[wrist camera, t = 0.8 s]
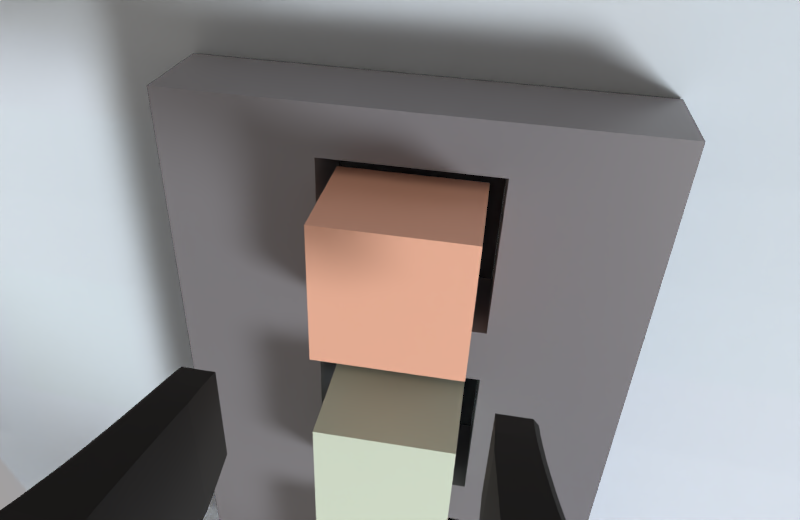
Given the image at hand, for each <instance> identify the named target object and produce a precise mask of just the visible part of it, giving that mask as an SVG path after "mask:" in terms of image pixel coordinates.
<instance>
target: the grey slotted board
mask: <svg viewBox="0 0 800 520" xmlns="http://www.w3.org/2000/svg"><path fill="white" fill-rule="evenodd" d="M147 90H148V96H149V102H150V108H151V114H152V120H153V126H154V132H155V137H156V143H157V149H158V155H159V161H160V167H161V173H162V179H163V185H164V191H165V197H166V203H167V209H168V215H169V221H170V227H171V233H172V239H173V245H174V251H175V257H176V263H177V269H178V275H179V281H180V287H181V293H182V299H183V305H184V311H185V317H186V323H187V329H188V335H189V341H190V347H191V353H192V359H193V365H194V369H199V370H205V371H212V372H216V379H217V386H218V393H219V400H220V407H221V414H222V421H223V428H224V435H225V442H226V449H227V456H226V459H225V462H224V465H223V468H222V471H221V474H220V476H219V479H218V482H217V485H216V488H215V490H214V491H215V497H216V503H217V509H218V515H219V520H316V502H315V477H314V453H313V429H314V427H315V424H316V421H317V418H318V415H319V413H320V410H321V407H322V404H323V401H324V399H325V396H326V393H327V390H328V387H329V385H330V382H331V379H332V376H333V373H334V371H335V368H336V365H337V363H330V362H324V361H317V360H310V357H309V333H308V309H307V285H306V261H305V237H304V224H305V222H306V221H307V219H308V217H309V215H310V213H311V212H312V210H313V208H314V206H315V204H316V203H317V201H318V199H319V197H320V195H321V194H322V192H323V190H324V188H325V187H326V185H327V183H328V181H329V179H330V178H331V176H332V174H333V172H334V170H335V169H336V167H337V166H340V160H342V161H352V162H361V163H370V164H379V165H388V166H397V167H406V168H416V169H425V170H434V171H443V172H452V173H461V174H470V175H480V176H489V177H498V178H506V180H505V188H504V195H503V202H502V209H501V216H500V223H499V230H498V237H497V244H496V251H495V258H494V265H493V273H492V279H489V278H481V277H479V278H478V286H477V294H476V301H475V309H474V317H473V325H472V333H471V340H470V348H469V356H468V364H467V372H466V378H470V379H477V386H476V393H475V400H474V407H473V414H472V421H471V426H468V425H462V424H459V433H458V441H457V449H456V457H455V465H454V473H453V481H452V489H451V496H450V504H449V512H448V518H453V519H458V520H479V518H480V507H481V496H482V490H483V484H484V478H485V472H486V466H487V460H488V454H489V448H490V442H491V436H492V430H493V424H494V418H495V413H496V414H503V415H509V416H516V417H523V418H530V419H534V420H535V421H536V423H537V424H538V425H539V429H540V435H541V439H542V444H543V448H544V452H545V456H546V460H547V463H548V467H549V470H550V474H551V477H552V480H553V483H554V487H555V490H556V493H557V496H558V499H559V502H560V505H561V508H562V510H563V513H564V516H565V519H566V520H588V519H589V515H590V512H591V509H592V506H593V502H594V499H595V496H596V493H597V490H598V486H599V483H600V480H601V477H602V473H603V470H604V467H605V464H606V461H607V457H608V454H609V451H610V448H611V444H612V441H613V438H614V435H615V431H616V428H617V425H618V422H619V419H620V415H621V412H622V409H623V406H624V402H625V399H626V396H627V393H628V390H629V386H630V383H631V380H632V377H633V373H634V370H635V367H636V364H637V361H638V357H639V354H640V351H641V348H642V344H643V341H644V338H645V335H646V331H647V328H648V325H649V322H650V319H651V315H652V312H653V309H654V306H655V302H656V299H657V296H658V293H659V290H660V286H661V283H662V280H663V277H664V273H665V270H666V267H667V264H668V261H669V257H670V254H671V251H672V248H673V244H674V241H675V238H676V235H677V232H678V228H679V225H680V222H681V219H682V215H683V212H684V209H685V206H686V202H687V199H688V196H689V193H690V190H691V186H692V183H693V180H694V177H695V173H696V170H697V167H698V164H699V161H700V157H701V154H702V151H703V148H704V144H705V140H704V138H703V136H702V134H701V133H700V131H699V129H698V127H697V125H696V123H695V121H694V119H693V117H692V116H691V114H690V112H689V110H688V108H687V106H686V104H685V102H684V100H683V99H674V98H663V97H652V96H642V95H631V94H620V93H610V92H599V91H589V90H578V89H567V88H557V87H546V86H535V85H525V84H514V83H503V82H493V81H482V80H471V79H461V78H450V77H439V76H429V75H418V74H407V73H397V72H386V71H375V70H365V69H354V68H343V67H333V66H322V65H311V64H301V63H290V62H279V61H269V60H258V59H247V58H237V57H226V56H215V55H205V54H194V53H193V54H192V55H190V56H189V57H187V58H186V59H184V60H183V61H182V62H180V63H179V64H177V65H176V66H174V67H173V68H172V69H170V70H169V71H167V72H166V73H164V74H163V75H162V76H160V77H159V78H157V79H156V80H154V81H153V82H152V83H150V84H149V85H147Z"/></svg>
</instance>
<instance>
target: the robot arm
mask: <svg viewBox="0 0 800 520" xmlns="http://www.w3.org/2000/svg"><path fill="white" fill-rule="evenodd" d="M226 456H227V449H226V442H225V435H224V428H223V421H222V414H221V407H220V400H219V393H218V386H217V379H216V372H212V371H205V370H199V369H192V368H185V367H181V368H180V369H178V370H177V371H176V372H174V373H173V374H172V375H171V376H170V377H168V378H167V379H166V380H165V381H164V382H162V383H161V384H160V385H159V386H158V387H156V388H155V389H154V390H153V391H152V392H151V393H149V394H148V395H147V396H146V397H145V398H143V399H142V400H141V401H140V402H139V403H138V404H136V405H135V406H134V407H133V408H132V409H131V410H129V411H128V412H127V413H126V414H125V415H123V416H122V417H121V418H120V419H119V420H117V421H116V422H115V423H114V424H113V425H111V426H110V427H109V428H108V429H107V430H105V431H104V432H103V433H102V434H100V435H99V436H98V437H97V438H95V439H94V440H93V441H92V442H90V443H89V444H88V445H87V446H86V447H84V448H83V449H82V450H81V451H79V452H78V453H77V454H76V455H74V456H73V457H72V458H71V459H69V460H68V461H67V462H65V463H64V464H63V465H61V466H60V467H59V468H57V469H56V470H55V471H53V472H52V473H51V474H49V475H48V476H47V477H45V478H44V479H43V480H41V481H40V482H39V483H37V484H36V485H35V486H33V487H32V488H31V489H29V490H28V491H27V492H25V493H24V494H23V495H21V496H20V497H19V498H17V499H16V500H14V501H13V502H12V503H10V504H9V505H7V506H6V507H4V508H3V509H2V510H0V520H203V518H204V516H205V513H206V511H207V509H208V506H209V504H210V501H211V498H212V496H213V493H214V490H215V488H216V485H217V482H218V479H219V476H220V474H221V471H222V468H223V465H224V462H225V459H226ZM479 520H566V519H565V516H564V513H563V510H562V508H561V505H560V502H559V499H558V496H557V493H556V490H555V487H554V483H553V480H552V477H551V474H550V470H549V467H548V463H547V460H546V456H545V452H544V448H543V444H542V439H541V435H540V429H539V425H538V424H537V423H536V421H535V420H534V419H530V418H523V417H516V416H509V415H503V414H496V413H495V418H494V424H493V430H492V436H491V442H490V448H489V454H488V460H487V466H486V472H485V478H484V484H483V490H482V496H481V507H480V518H479Z"/></svg>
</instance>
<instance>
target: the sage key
mask: <svg viewBox="0 0 800 520" xmlns="http://www.w3.org/2000/svg"><path fill="white" fill-rule="evenodd" d="M464 383H465V382H463V381H456V380H449V379H442V378H435V377H428V376H421V375H414V374H407V373H400V372H393V371H386V370H379V369H372V368H365V367H358V366H351V365H344V364H337V365H336V368H335V371H334V373H333V376H332V379H331V382H330V385H329V387H328V390H327V393H326V396H325V399H324V401H323V404H322V407H321V410H320V413H319V415H318V418H317V421H316V424H315V427H314V429H313V453H314V477H315V502H316V520H448V512H449V504H450V496H451V489H452V481H453V473H454V465H455V457H456V449H457V441H458V433H459V424H460V416H461V408H462V399H463V391H464Z"/></svg>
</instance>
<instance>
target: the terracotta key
mask: <svg viewBox="0 0 800 520" xmlns="http://www.w3.org/2000/svg"><path fill="white" fill-rule="evenodd" d="M489 187H490V183H486V182H477V181H468V180H459V179H450V178H441V177H432V176H423V175H414V174H405V173H396V172H387V171H378V170H369V169H360V168H350V167H341V166H337V167H336V169H335V170H334V172H333V174H332V176H331V178H330V179H329V181H328V183H327V185H326V187H325V188H324V190H323V192H322V194H321V195H320V197H319V199H318V201H317V203H316V204H315V206H314V208H313V210H312V212H311V213H310V215H309V217H308V219H307V221H306V222H305V224H304V237H305V261H306V285H307V309H308V333H309V357H310V360H317V361H324V362H330V363H337V364H344V365H351V366H358V367H365V368H372V369H379V370H386V371H393V372H400V373H407V374H414V375H421V376H428V377H435V378H442V379H449V380H456V381H463V382H465V379H466V372H467V364H468V356H469V348H470V340H471V333H472V325H473V317H474V309H475V301H476V294H477V286H478V278H479V270H480V262H481V255H482V247H483V238H484V230H485V221H486V213H487V204H488V195H489Z"/></svg>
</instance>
